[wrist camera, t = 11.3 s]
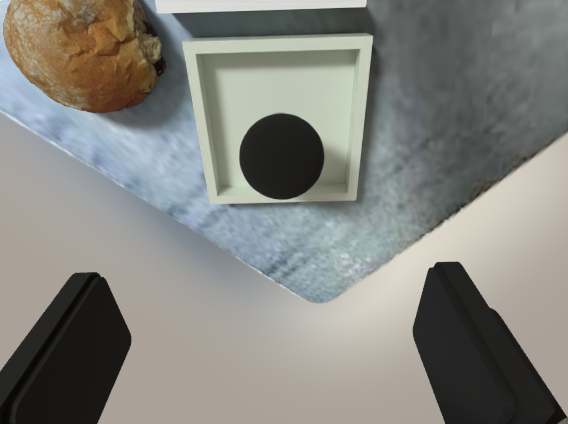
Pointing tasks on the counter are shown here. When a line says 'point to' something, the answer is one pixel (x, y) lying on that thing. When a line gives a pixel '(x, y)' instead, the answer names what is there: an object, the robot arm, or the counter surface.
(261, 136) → the light bulb
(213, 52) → the dish
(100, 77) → the bread roll
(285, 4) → the white flat bar
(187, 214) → the counter surface
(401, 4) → the counter surface
